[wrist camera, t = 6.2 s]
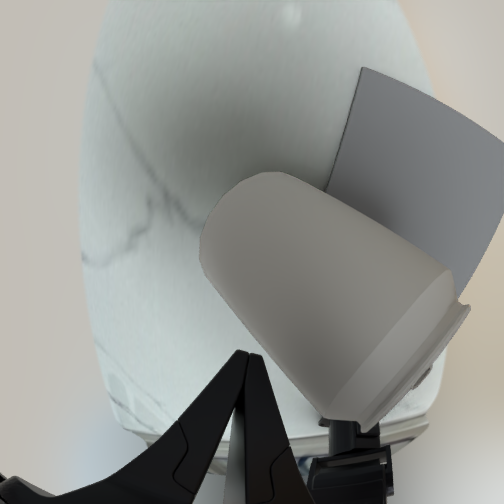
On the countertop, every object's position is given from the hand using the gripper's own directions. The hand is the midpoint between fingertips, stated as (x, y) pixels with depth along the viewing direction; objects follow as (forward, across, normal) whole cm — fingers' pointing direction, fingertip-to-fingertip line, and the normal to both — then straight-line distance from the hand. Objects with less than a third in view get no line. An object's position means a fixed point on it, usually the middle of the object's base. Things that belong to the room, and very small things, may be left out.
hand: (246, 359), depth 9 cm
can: (+9, +1, 0) cm, 9 cm away
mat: (+12, -10, -1) cm, 15 cm away
